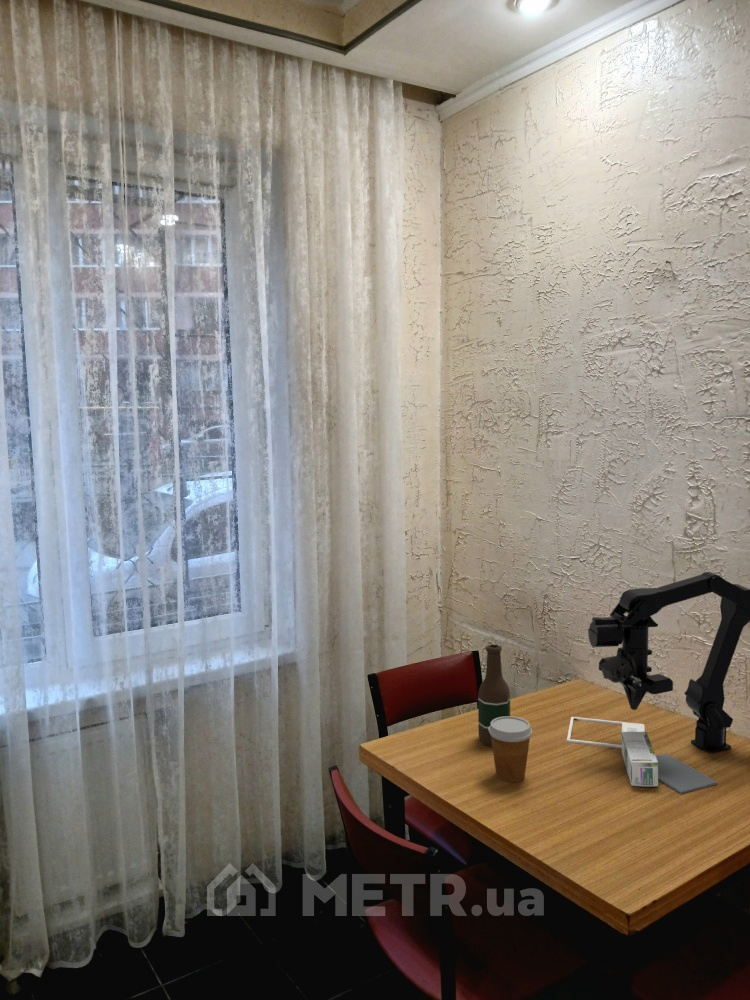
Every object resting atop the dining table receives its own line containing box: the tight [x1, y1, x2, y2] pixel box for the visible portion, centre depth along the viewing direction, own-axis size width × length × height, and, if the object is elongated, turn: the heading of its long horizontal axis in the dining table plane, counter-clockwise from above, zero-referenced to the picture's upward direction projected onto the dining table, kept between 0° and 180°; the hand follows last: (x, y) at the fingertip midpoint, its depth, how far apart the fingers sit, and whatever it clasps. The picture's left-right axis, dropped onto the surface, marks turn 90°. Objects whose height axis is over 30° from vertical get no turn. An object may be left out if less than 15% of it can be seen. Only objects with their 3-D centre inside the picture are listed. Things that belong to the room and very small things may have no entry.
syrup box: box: [620, 731, 659, 787], centre depth 167 cm, size 6×6×14 cm
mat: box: [655, 752, 718, 795], centre depth 166 cm, size 10×15×1 cm, turn 22°
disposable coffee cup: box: [489, 715, 533, 783], centre depth 166 cm, size 10×10×12 cm
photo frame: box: [566, 716, 646, 749], centre depth 187 cm, size 15×1×18 cm
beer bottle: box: [477, 644, 511, 747], centre depth 184 cm, size 8×8×24 cm
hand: (633, 709), depth 177 cm, fingers closed
